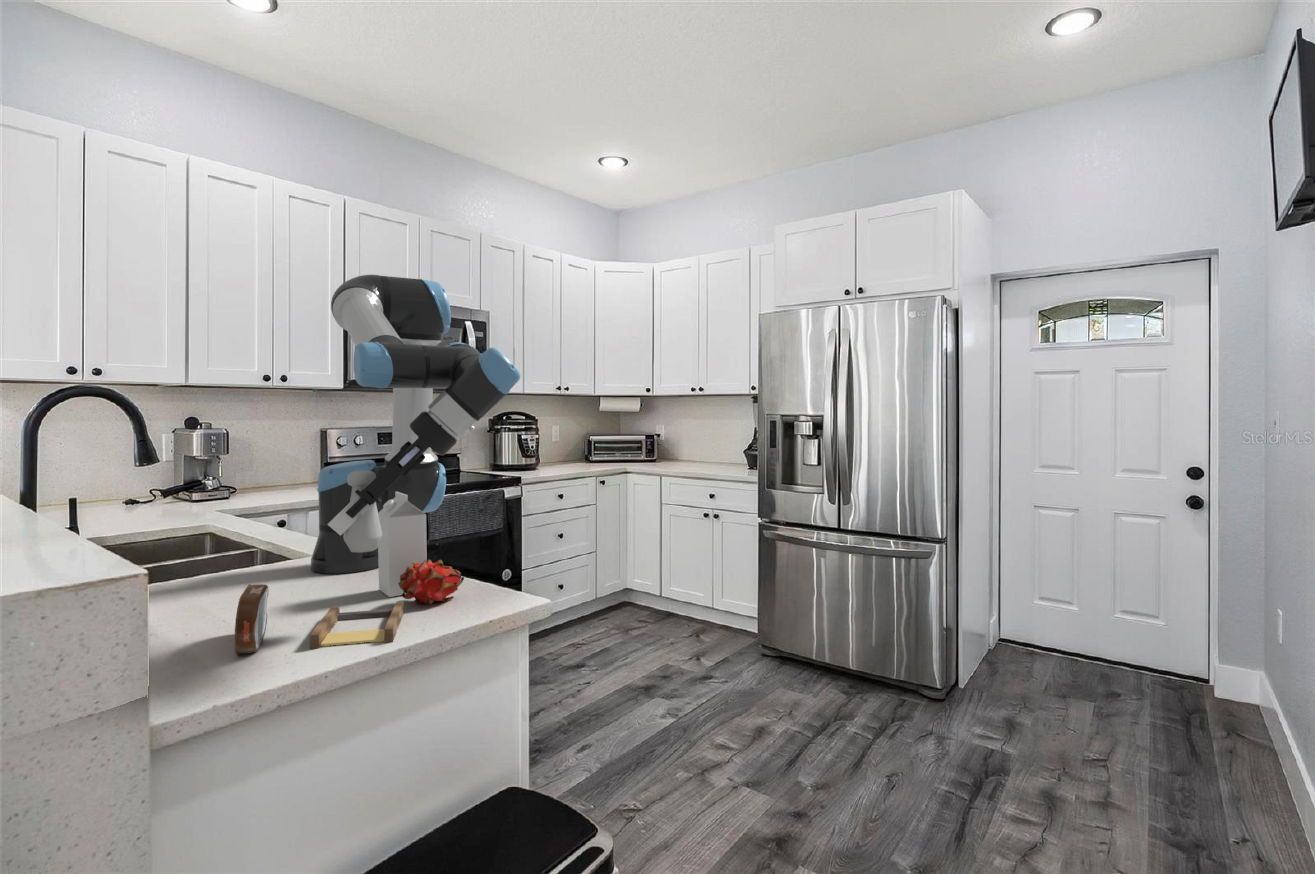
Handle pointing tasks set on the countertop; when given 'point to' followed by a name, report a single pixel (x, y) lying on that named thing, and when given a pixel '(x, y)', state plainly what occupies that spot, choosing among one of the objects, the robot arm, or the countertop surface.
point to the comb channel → (335, 615)
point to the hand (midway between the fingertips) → (336, 527)
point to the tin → (251, 619)
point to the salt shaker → (363, 517)
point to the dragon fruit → (429, 582)
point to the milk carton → (400, 542)
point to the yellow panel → (353, 637)
